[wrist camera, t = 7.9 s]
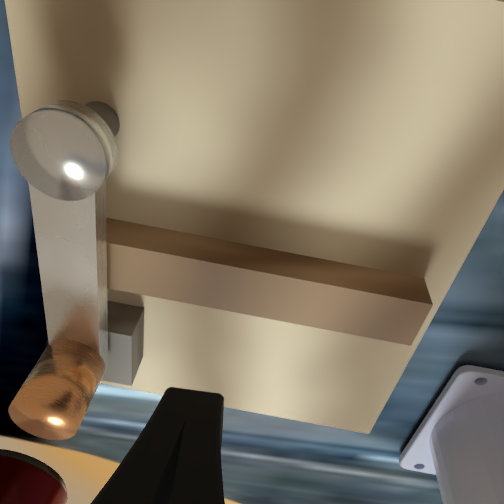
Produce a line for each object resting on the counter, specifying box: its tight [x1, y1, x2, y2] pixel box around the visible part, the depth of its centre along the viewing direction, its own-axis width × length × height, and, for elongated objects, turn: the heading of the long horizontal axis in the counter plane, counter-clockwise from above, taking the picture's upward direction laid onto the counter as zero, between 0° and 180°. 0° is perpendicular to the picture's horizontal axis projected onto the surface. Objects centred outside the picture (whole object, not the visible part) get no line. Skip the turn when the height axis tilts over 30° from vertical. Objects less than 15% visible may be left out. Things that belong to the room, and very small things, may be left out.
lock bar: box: [8, 100, 118, 440], centre depth 13 cm, size 10×2×3 cm, turn 170°
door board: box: [5, 0, 504, 434], centre depth 16 cm, size 15×18×3 cm
